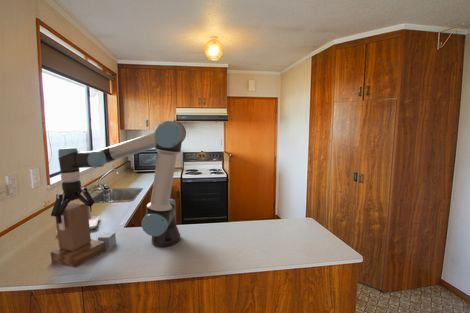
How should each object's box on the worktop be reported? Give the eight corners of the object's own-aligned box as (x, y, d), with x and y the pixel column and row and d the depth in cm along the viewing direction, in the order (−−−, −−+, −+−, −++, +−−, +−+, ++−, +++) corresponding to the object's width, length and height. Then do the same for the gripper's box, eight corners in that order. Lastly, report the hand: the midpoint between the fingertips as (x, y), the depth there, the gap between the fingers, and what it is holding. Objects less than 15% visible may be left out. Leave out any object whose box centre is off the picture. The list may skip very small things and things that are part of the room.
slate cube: (116, 243, 137) (115, 232, 136) (109, 248, 131) (108, 237, 130) (105, 243, 137) (104, 232, 137) (98, 248, 132) (97, 237, 131)
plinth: (105, 251, 128) (104, 241, 128) (76, 267, 113) (74, 257, 113) (82, 246, 134) (81, 237, 133) (51, 262, 119) (50, 252, 118)
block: (73, 252, 117) (68, 210, 115) (58, 249, 121) (53, 208, 118) (92, 242, 127) (88, 204, 124) (77, 240, 130) (73, 202, 128)
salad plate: (64, 225, 166) (63, 220, 166) (100, 219, 174) (100, 214, 174) (56, 237, 147) (55, 232, 146) (97, 230, 155) (96, 225, 155)
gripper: (88, 175, 132) (93, 214, 134) (37, 186, 109) (43, 233, 111) (99, 175, 129) (103, 215, 132) (49, 187, 106) (55, 235, 109)
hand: (76, 224), depth 122 cm, fingers open, 13 cm apart
